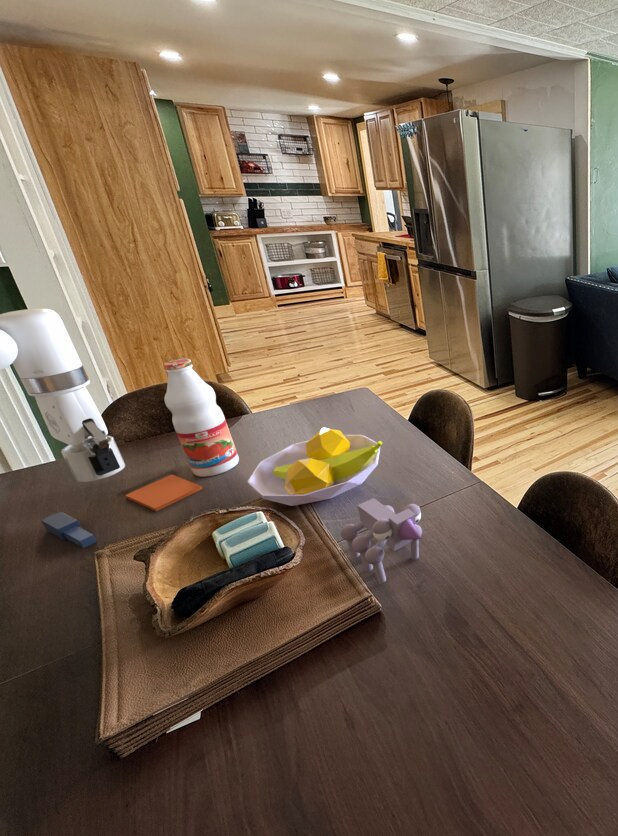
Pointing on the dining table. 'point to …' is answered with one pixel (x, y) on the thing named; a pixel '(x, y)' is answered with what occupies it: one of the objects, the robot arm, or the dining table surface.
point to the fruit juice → (198, 421)
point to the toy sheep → (382, 533)
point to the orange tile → (163, 492)
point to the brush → (68, 529)
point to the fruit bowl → (316, 468)
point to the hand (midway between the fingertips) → (98, 466)
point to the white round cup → (88, 461)
